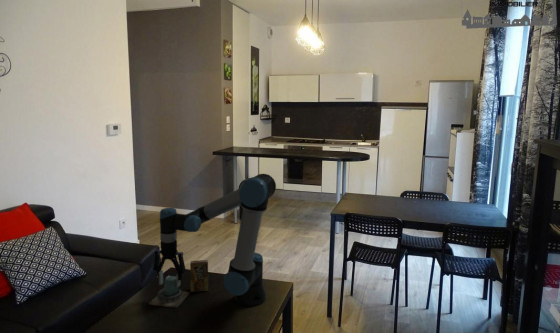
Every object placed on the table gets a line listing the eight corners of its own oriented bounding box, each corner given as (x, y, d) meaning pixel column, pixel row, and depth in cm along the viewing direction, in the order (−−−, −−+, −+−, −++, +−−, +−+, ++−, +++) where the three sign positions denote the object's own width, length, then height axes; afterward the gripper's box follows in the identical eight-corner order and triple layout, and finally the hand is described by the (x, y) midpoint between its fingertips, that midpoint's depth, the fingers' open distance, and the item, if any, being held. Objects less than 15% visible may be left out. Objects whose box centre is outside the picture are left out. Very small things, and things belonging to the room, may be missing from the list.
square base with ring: (189, 294, 190) (189, 287, 189) (176, 308, 176) (176, 301, 176) (164, 290, 193) (163, 284, 192) (149, 304, 179) (149, 297, 178)
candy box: (208, 287, 197) (207, 259, 195) (208, 291, 193) (208, 262, 191) (190, 288, 196) (190, 260, 193) (190, 292, 191) (190, 263, 189)
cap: (179, 294, 187) (180, 276, 185) (173, 300, 180) (174, 282, 179) (167, 291, 188) (168, 273, 186) (160, 298, 182) (162, 279, 180)
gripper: (192, 239, 181) (193, 284, 185) (152, 235, 186) (153, 279, 189) (185, 245, 174) (186, 291, 178) (144, 241, 178) (145, 286, 182)
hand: (169, 284), depth 183 cm, fingers open, 8 cm apart
